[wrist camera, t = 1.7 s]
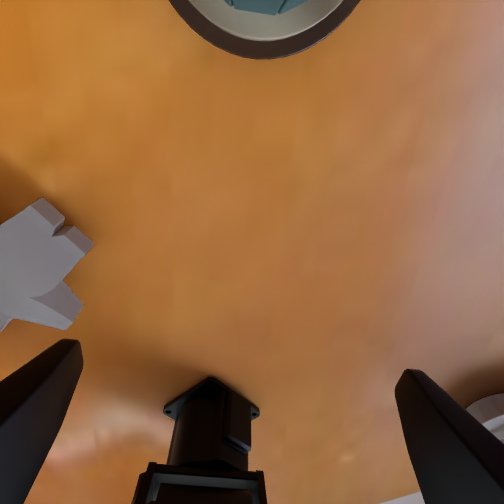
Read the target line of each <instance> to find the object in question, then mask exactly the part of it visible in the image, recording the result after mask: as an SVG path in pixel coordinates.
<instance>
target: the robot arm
mask: <svg viewBox="0 0 504 504" xmlns="http://www.w3.org/2000/svg"><path fill="white" fill-rule="evenodd" d="M82 369H83V355H82V350H81V345H80V342H79V341H78V340H74V339H62V340H59V341H58V342H57V343H55V344H54V345H52V346H51V347H49V348H48V349H46V350H45V351H44V352H42V353H41V354H39V355H38V356H36V357H35V358H34V359H32V360H31V361H29V362H28V363H26V364H25V365H23V366H22V367H21V368H19V369H18V370H16V371H15V372H13V373H12V374H10V375H9V376H8V377H6V378H5V379H3V380H2V381H0V504H23V503H24V501H25V499H26V497H27V495H28V493H29V491H30V489H31V487H32V485H33V483H34V481H35V479H36V477H37V475H38V473H39V471H40V469H41V467H42V465H43V463H44V461H45V459H46V457H47V455H48V453H49V451H50V449H51V447H52V444H53V442H54V440H55V438H56V436H57V434H58V432H59V430H60V428H61V425H62V423H63V420H64V418H65V415H66V412H67V410H68V407H69V404H70V402H71V399H72V396H73V393H74V391H75V388H76V385H77V383H78V380H79V377H80V374H81V372H82ZM395 398H396V402H397V407H398V411H399V416H400V420H401V424H402V429H403V433H404V437H405V442H406V446H407V450H408V453H409V456H410V459H411V462H412V465H413V468H414V471H415V474H416V478H417V481H418V484H419V487H420V490H421V493H422V496H423V499H424V502H425V504H504V443H502V442H501V441H500V440H499V439H498V438H497V437H496V436H495V435H493V434H492V433H491V432H490V431H489V430H488V429H487V428H486V427H485V426H483V425H482V424H481V423H480V422H479V421H478V420H477V419H476V418H474V417H473V416H472V415H471V414H470V413H469V412H468V411H467V410H465V409H464V408H463V407H462V406H461V405H460V404H459V403H458V402H456V401H455V400H454V399H453V398H452V397H451V396H450V395H449V394H447V393H446V392H445V391H444V390H443V389H442V388H441V387H440V386H439V385H437V384H436V383H435V382H434V381H433V380H432V379H431V378H430V377H428V376H427V375H426V374H425V373H424V372H423V371H421V370H417V369H406V370H404V372H403V374H402V375H401V377H400V379H399V381H398V383H397V385H396V387H395ZM163 413H164V414H165V415H167V416H169V417H170V418H172V419H174V420H175V425H174V430H173V435H172V439H171V444H170V449H169V454H168V459H167V464H166V465H165V464H157V462H149V464H148V468H147V471H146V472H144V473H142V474H140V475H139V479H138V483H137V486H136V490H135V494H134V497H133V500H132V503H131V504H267V498H266V490H265V481H264V473H263V471H258V470H256V472H253V471H248V452H249V451H250V450H251V420H253V419H255V418H257V417H258V416H259V415H260V410H259V408H258V407H256V406H255V405H253V404H252V403H250V402H249V401H248V400H246V399H245V398H243V397H242V396H241V395H239V394H238V393H236V392H235V391H234V390H232V389H231V388H229V387H228V386H226V385H225V384H224V383H222V382H221V381H219V380H218V379H217V378H215V377H209V378H207V379H205V380H204V381H202V382H200V383H199V384H197V385H196V386H194V387H193V388H191V389H190V390H188V391H187V392H185V393H183V394H182V395H180V396H179V397H177V398H176V399H174V400H173V401H171V402H169V403H168V404H166V405H165V406H164V409H163Z"/></svg>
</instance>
